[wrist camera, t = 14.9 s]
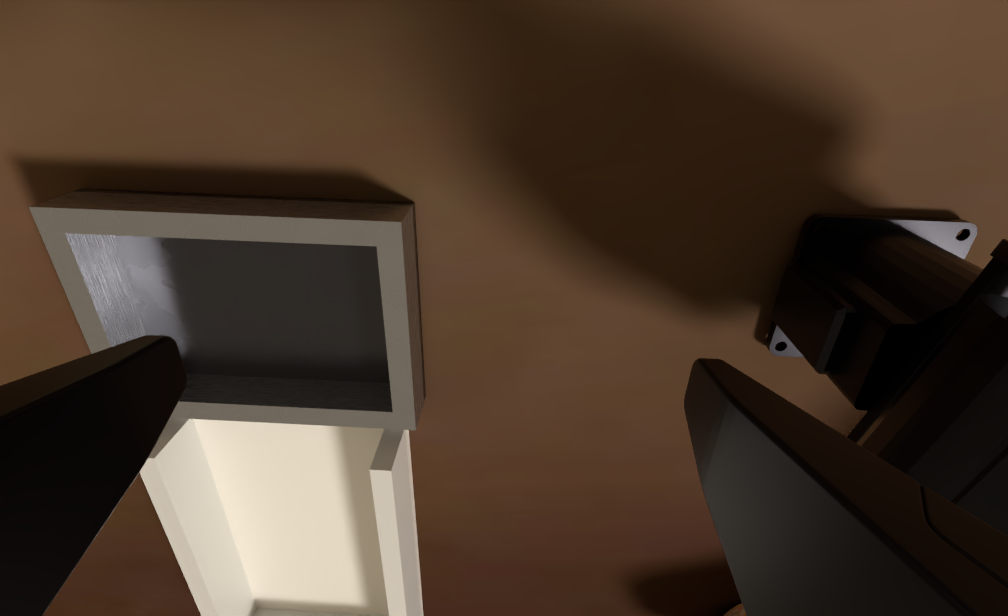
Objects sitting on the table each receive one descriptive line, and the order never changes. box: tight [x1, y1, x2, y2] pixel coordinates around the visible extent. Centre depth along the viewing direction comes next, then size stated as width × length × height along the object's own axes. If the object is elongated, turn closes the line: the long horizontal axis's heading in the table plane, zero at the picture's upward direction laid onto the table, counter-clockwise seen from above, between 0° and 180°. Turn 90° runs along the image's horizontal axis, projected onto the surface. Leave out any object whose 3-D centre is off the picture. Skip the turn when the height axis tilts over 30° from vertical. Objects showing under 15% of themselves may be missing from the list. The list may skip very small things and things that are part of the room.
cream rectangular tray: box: [140, 418, 423, 616], centre depth 29 cm, size 12×18×4 cm, turn 178°
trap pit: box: [29, 189, 426, 430], centre depth 22 cm, size 14×10×2 cm
